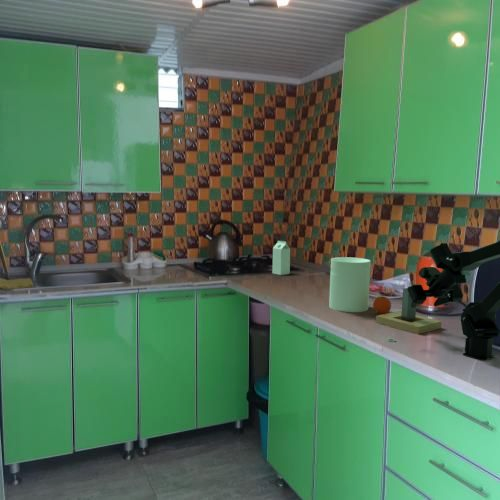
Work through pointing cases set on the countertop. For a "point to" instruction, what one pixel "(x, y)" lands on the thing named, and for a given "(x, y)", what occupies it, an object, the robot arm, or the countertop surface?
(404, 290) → the bracket
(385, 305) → the clementine
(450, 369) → the countertop surface
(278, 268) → the milk carton
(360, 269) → the canister
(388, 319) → the olive square-hole block
